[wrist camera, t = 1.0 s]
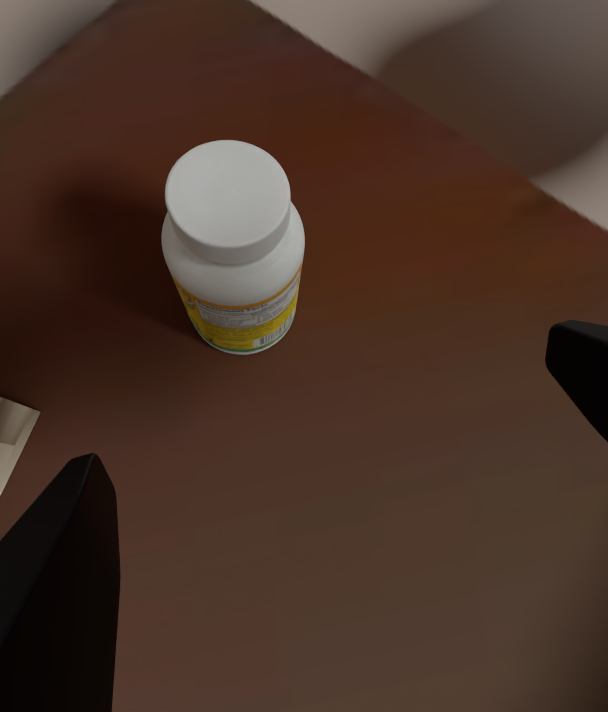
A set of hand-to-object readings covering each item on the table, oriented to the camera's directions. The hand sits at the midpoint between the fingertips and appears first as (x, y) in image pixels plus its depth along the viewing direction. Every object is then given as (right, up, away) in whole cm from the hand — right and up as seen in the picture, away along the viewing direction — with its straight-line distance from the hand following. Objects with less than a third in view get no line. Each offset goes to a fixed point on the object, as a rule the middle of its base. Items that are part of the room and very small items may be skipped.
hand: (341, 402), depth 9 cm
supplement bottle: (-4, +3, +16) cm, 16 cm away
